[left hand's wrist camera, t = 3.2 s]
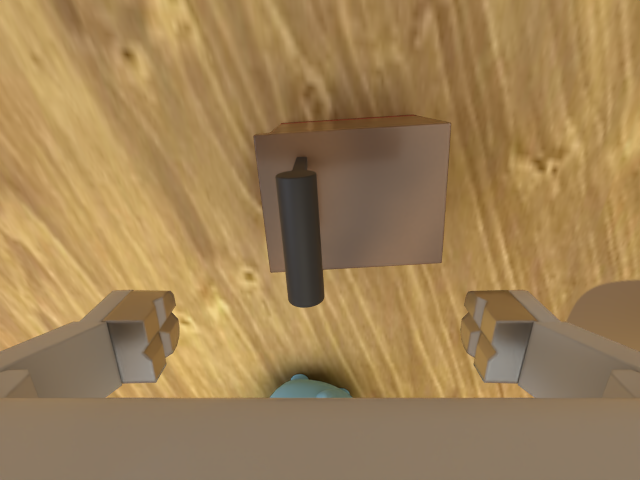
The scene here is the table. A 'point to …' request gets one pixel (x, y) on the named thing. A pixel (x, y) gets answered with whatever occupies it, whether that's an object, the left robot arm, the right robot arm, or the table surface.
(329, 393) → the teapot
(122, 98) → the table surface
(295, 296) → the lid
